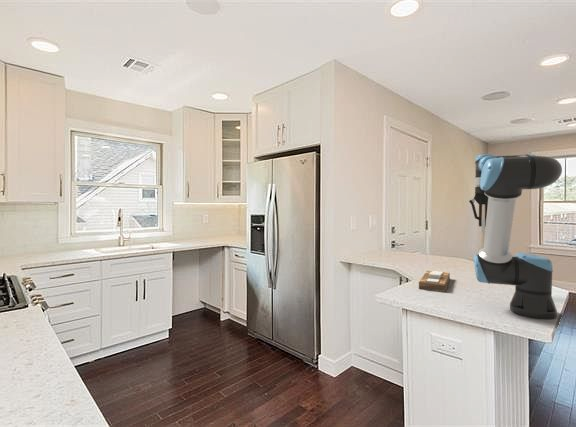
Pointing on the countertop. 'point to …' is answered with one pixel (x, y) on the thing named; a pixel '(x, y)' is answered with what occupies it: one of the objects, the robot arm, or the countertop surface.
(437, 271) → the far button
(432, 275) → the middle button
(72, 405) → the countertop surface
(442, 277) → the button board
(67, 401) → the countertop surface
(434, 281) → the near button
